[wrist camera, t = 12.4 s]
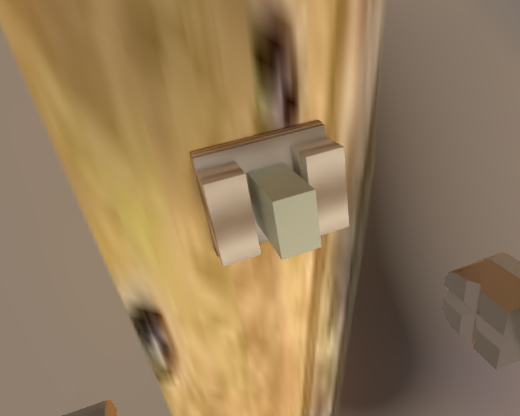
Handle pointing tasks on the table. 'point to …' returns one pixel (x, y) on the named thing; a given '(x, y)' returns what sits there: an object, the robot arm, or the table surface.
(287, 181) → the block
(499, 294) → the robot arm
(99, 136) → the table surface
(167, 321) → the table surface
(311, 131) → the rail board
